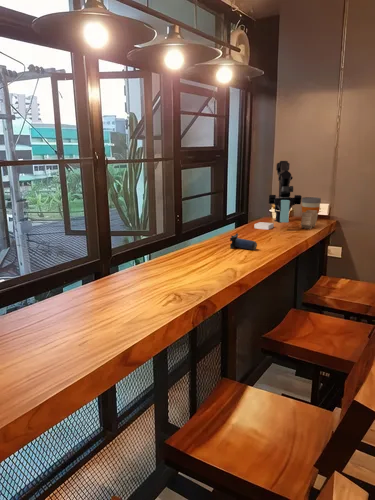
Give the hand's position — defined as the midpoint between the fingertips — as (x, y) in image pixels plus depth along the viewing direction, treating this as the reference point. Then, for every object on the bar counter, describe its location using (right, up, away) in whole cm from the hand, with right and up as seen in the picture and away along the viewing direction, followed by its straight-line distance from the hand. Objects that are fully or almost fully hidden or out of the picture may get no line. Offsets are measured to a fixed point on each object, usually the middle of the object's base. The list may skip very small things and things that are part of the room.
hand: (284, 210), depth 229 cm
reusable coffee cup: (+28, -2, +42) cm, 51 cm away
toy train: (+18, -9, +15) cm, 25 cm away
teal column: (0, -6, +3) cm, 7 cm away
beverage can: (-30, -23, -40) cm, 55 cm away
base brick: (-10, -10, +13) cm, 19 cm away
